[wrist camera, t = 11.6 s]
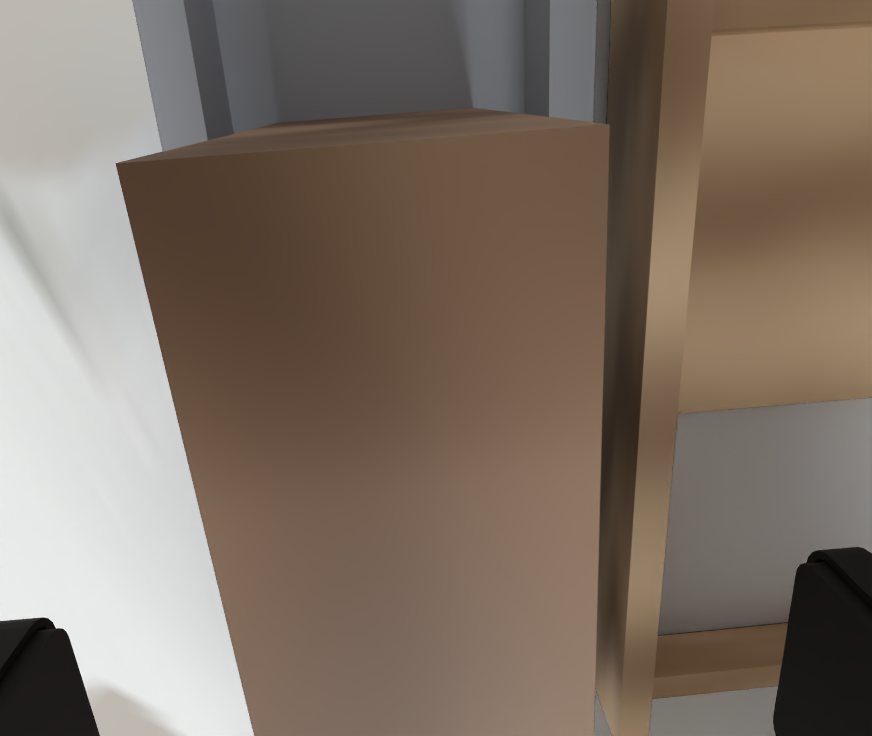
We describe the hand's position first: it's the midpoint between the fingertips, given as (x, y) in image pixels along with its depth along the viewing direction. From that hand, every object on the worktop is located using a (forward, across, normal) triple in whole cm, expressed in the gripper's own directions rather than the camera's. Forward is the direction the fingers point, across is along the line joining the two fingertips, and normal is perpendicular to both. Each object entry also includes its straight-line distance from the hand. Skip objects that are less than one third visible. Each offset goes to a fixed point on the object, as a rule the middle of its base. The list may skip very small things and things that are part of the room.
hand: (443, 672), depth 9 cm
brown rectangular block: (+8, 0, -1) cm, 8 cm away
